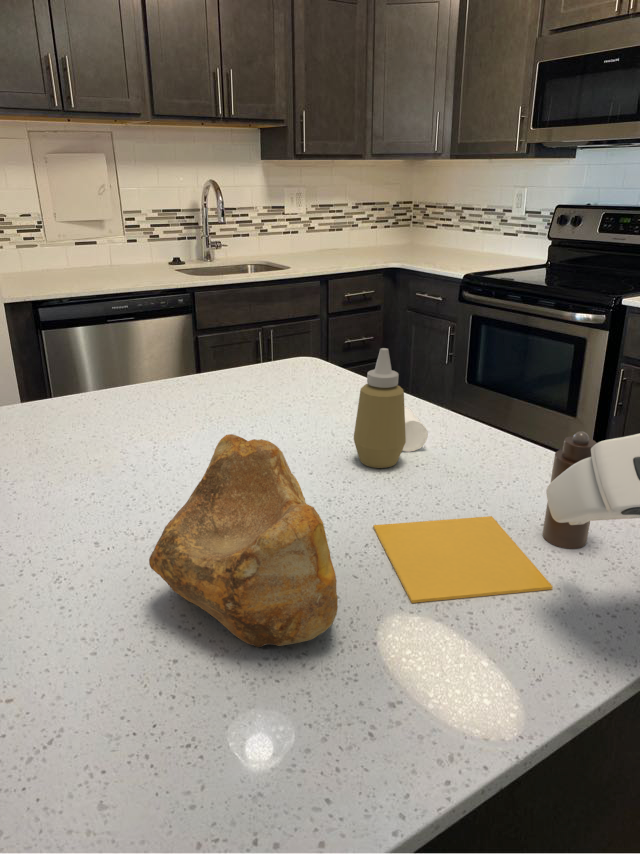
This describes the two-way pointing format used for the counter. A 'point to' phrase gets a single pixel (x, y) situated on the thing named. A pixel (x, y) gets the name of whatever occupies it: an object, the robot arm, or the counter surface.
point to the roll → (414, 432)
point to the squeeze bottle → (380, 416)
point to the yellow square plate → (457, 559)
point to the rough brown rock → (251, 548)
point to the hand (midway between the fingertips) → (614, 515)
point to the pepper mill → (564, 458)
